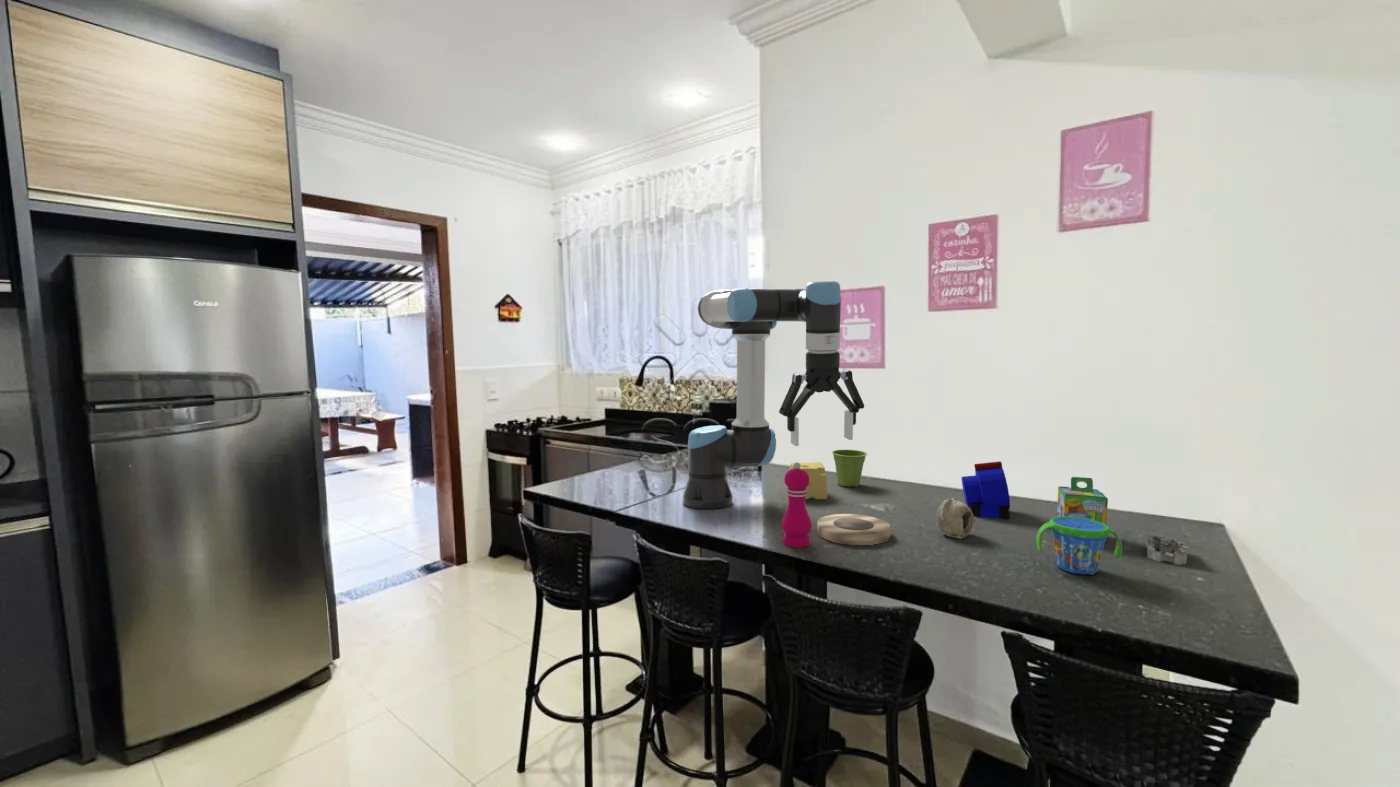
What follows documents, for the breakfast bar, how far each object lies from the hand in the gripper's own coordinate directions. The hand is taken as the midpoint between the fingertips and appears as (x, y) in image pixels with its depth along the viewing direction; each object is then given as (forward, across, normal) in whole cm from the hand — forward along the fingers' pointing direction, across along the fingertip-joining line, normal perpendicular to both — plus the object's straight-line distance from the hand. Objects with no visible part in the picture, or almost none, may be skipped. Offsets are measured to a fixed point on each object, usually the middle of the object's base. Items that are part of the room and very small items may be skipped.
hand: (821, 441), depth 137 cm
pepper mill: (+26, -5, +2) cm, 27 cm away
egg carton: (+27, +71, -28) cm, 81 cm away
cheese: (+32, +16, +43) cm, 56 cm away
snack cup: (+25, +45, -29) cm, 60 cm away
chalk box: (+28, +64, -12) cm, 72 cm away
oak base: (+27, +12, +5) cm, 30 cm away
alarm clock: (+31, +57, +12) cm, 66 cm away
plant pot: (+34, +36, +52) cm, 72 cm away
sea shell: (+28, +36, -3) cm, 46 cm away
